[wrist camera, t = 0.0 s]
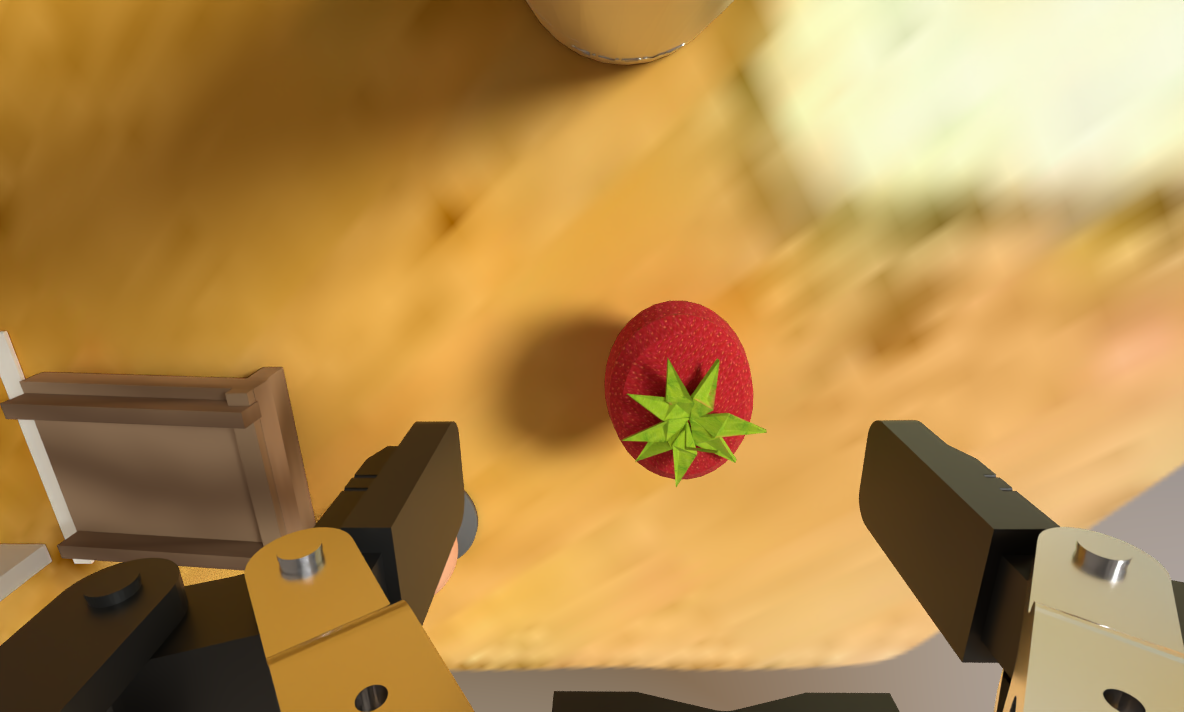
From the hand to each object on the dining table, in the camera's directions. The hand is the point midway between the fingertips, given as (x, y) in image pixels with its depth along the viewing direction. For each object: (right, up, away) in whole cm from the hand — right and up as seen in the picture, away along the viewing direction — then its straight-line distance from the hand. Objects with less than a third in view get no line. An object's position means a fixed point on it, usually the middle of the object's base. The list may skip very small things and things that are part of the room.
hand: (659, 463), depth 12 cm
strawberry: (+2, +3, +18) cm, 18 cm away
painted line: (-31, -3, +20) cm, 37 cm away
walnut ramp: (-23, -3, +20) cm, 30 cm away
